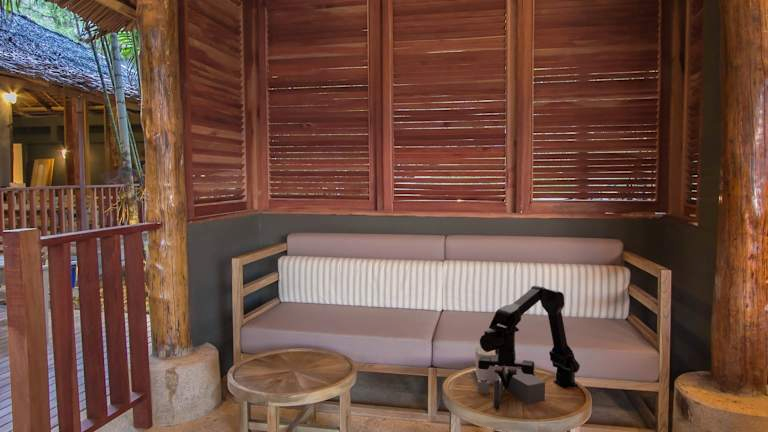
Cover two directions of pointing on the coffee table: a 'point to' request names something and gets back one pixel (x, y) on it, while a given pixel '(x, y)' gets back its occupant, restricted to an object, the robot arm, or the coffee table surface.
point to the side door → (497, 391)
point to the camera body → (526, 387)
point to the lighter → (481, 383)
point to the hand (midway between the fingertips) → (506, 388)
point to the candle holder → (490, 372)
